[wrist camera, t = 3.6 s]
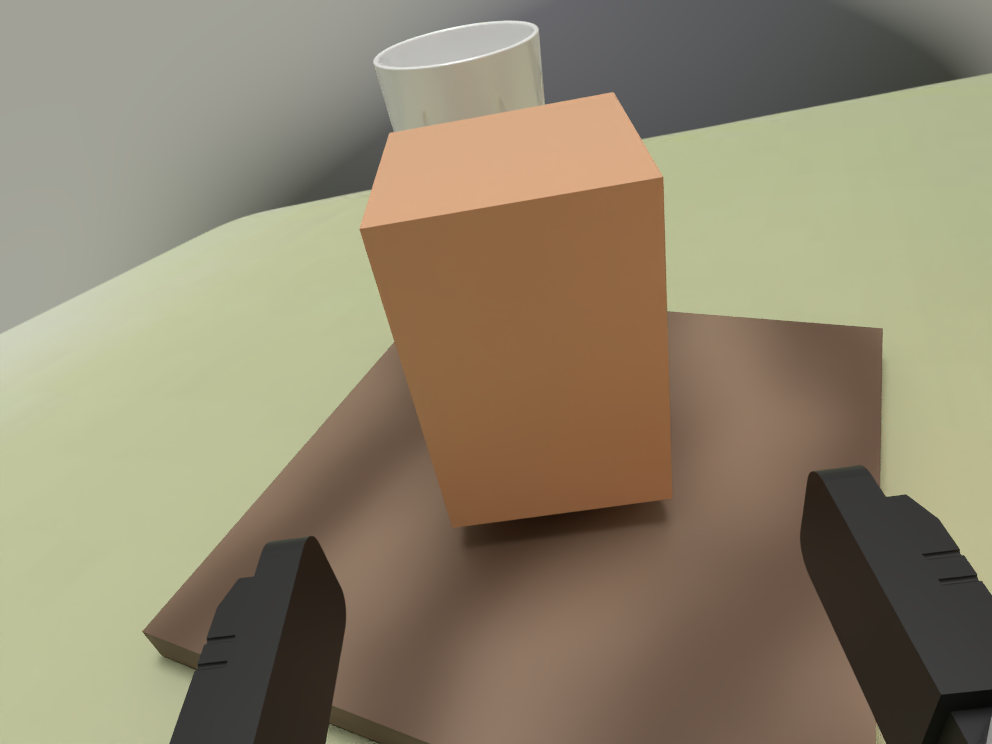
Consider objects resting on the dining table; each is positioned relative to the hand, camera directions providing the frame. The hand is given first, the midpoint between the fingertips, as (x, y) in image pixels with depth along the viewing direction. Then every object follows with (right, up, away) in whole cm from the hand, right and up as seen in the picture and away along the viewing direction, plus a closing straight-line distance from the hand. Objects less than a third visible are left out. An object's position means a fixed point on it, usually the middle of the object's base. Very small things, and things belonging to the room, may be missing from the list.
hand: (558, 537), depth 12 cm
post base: (+1, -1, +11) cm, 11 cm away
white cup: (-1, +10, +27) cm, 29 cm away
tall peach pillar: (+1, +1, +10) cm, 10 cm away
